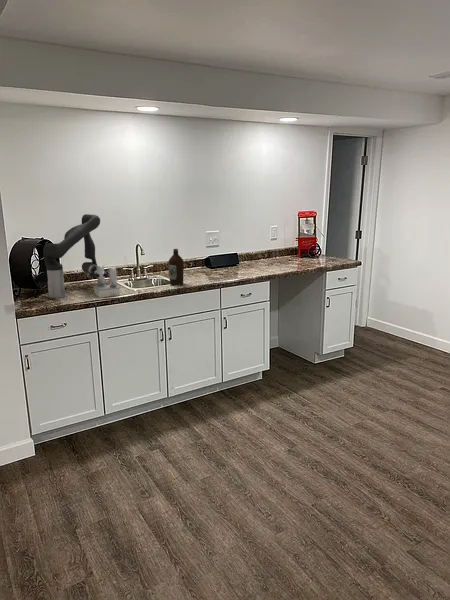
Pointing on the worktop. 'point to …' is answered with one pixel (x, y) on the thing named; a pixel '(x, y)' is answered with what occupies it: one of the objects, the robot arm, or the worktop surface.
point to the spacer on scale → (112, 277)
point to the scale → (106, 291)
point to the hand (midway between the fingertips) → (101, 275)
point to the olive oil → (176, 268)
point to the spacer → (101, 275)
